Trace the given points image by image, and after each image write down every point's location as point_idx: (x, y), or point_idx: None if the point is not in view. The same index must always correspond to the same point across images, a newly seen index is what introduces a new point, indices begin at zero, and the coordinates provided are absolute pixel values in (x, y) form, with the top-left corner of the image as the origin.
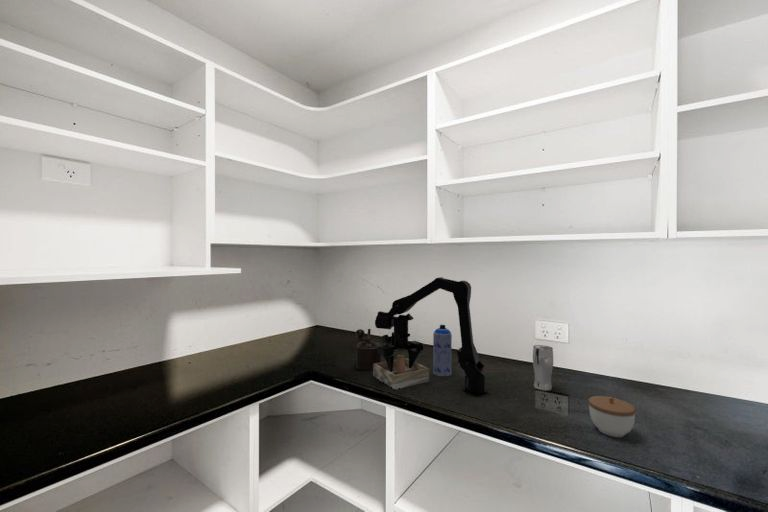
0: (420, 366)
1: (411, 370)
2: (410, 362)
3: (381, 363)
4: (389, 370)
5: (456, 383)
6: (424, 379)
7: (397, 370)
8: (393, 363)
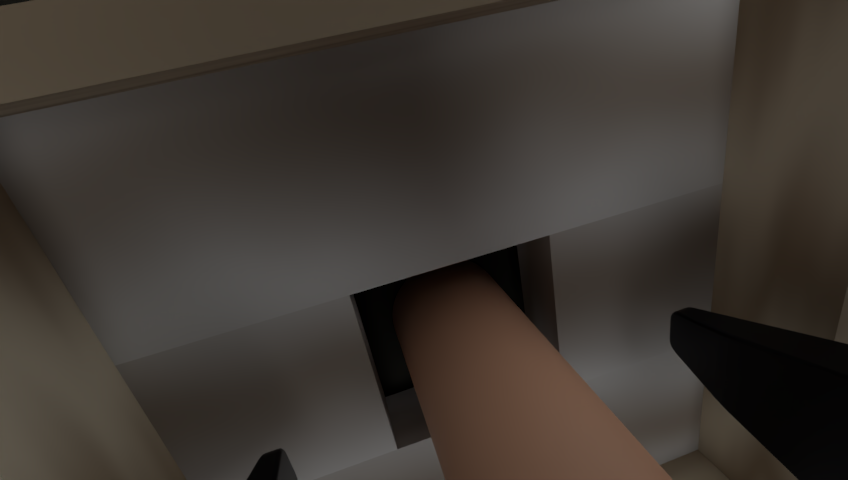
0: None
1: (681, 243)
2: (771, 406)
3: (48, 93)
4: (252, 470)
5: None
6: None
7: (426, 418)
8: (521, 2)
